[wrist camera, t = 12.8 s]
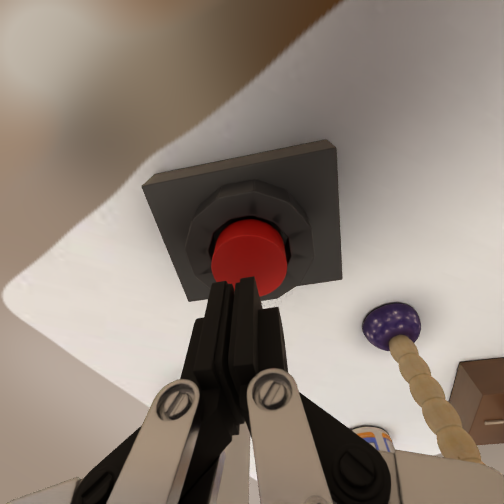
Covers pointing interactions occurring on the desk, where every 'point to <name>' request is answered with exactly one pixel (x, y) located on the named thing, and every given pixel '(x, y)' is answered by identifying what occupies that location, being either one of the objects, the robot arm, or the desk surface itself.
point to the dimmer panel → (480, 399)
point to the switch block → (253, 212)
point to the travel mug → (236, 470)
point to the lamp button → (250, 255)
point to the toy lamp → (420, 377)
